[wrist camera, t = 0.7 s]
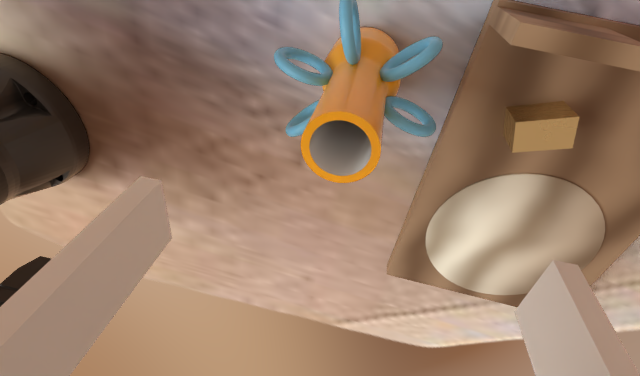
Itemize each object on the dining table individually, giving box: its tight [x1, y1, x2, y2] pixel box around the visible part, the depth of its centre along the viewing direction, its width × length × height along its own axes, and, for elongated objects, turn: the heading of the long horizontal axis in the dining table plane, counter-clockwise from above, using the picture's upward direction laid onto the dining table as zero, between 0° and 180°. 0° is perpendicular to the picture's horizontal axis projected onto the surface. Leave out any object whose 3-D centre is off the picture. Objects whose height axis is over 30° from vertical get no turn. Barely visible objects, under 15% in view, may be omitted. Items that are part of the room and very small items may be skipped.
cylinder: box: [274, 0, 443, 183], centre depth 24 cm, size 12×10×15 cm
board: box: [387, 0, 640, 307], centre depth 30 cm, size 20×29×8 cm
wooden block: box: [503, 101, 579, 153], centre depth 27 cm, size 4×2×3 cm, turn 101°
